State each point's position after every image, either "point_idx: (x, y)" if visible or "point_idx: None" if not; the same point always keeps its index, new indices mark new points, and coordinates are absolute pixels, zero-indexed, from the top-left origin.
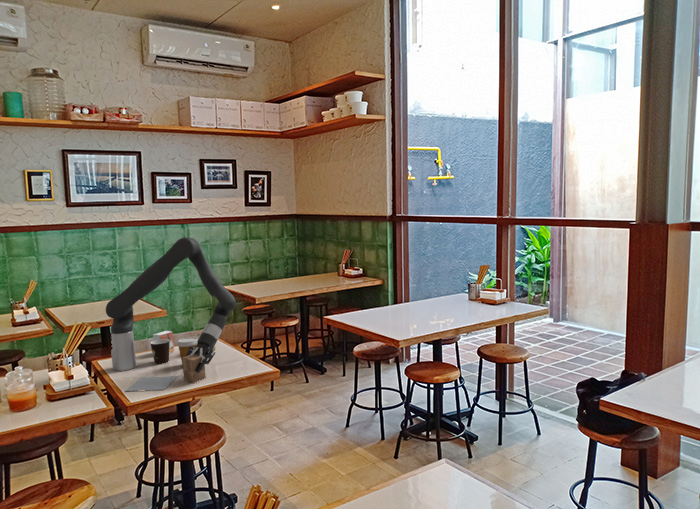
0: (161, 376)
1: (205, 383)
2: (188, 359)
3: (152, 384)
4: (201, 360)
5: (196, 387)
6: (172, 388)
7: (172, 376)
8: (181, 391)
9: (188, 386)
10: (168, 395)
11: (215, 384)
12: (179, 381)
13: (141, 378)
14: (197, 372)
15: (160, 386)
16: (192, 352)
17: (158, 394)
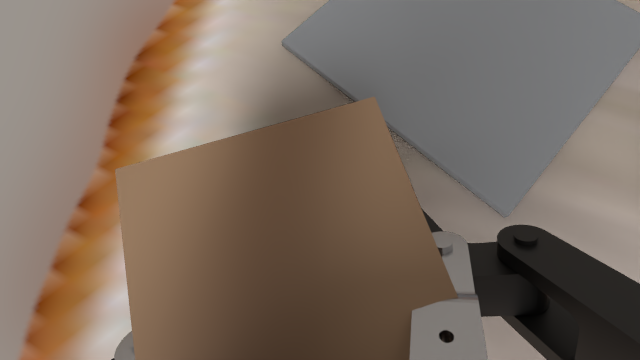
0: (581, 119)
1: None
2: (225, 145)
3: (435, 24)
4: (131, 356)
5: None
6: (267, 88)
7: (519, 176)
8: (159, 104)
9: None
10: (170, 30)
11: (43, 348)
12: None
13: (629, 17)
14: None
15: (351, 42)
16: (479, 348)
17: (239, 2)
